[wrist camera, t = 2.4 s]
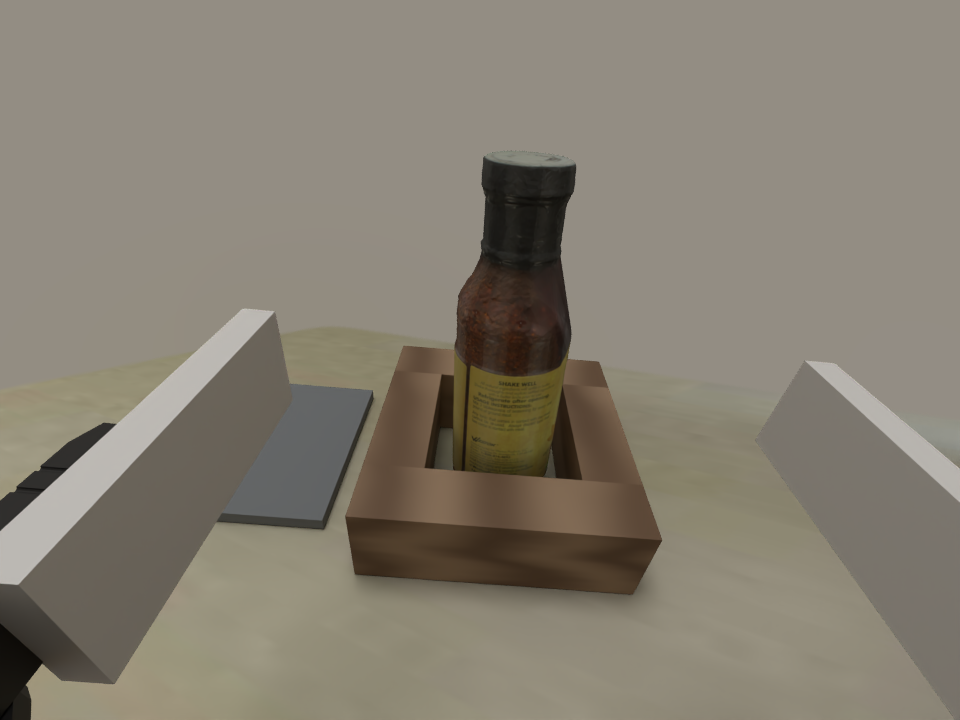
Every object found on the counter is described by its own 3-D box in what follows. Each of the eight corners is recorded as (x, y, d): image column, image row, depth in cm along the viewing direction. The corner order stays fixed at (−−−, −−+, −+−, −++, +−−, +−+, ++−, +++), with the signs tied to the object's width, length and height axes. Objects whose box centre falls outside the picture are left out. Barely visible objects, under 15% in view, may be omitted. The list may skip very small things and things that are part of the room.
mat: (373, 398, 35) (372, 390, 34) (323, 528, 25) (321, 520, 24) (225, 386, 34) (222, 378, 34) (115, 513, 24) (109, 504, 24)
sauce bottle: (561, 485, 29) (649, 169, 18) (490, 534, 25) (544, 179, 14) (498, 429, 33) (537, 143, 22) (430, 464, 29) (434, 146, 18)
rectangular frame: (584, 410, 35) (598, 361, 32) (632, 594, 23) (662, 540, 20) (405, 396, 35) (403, 345, 32) (354, 574, 23) (345, 516, 20)
